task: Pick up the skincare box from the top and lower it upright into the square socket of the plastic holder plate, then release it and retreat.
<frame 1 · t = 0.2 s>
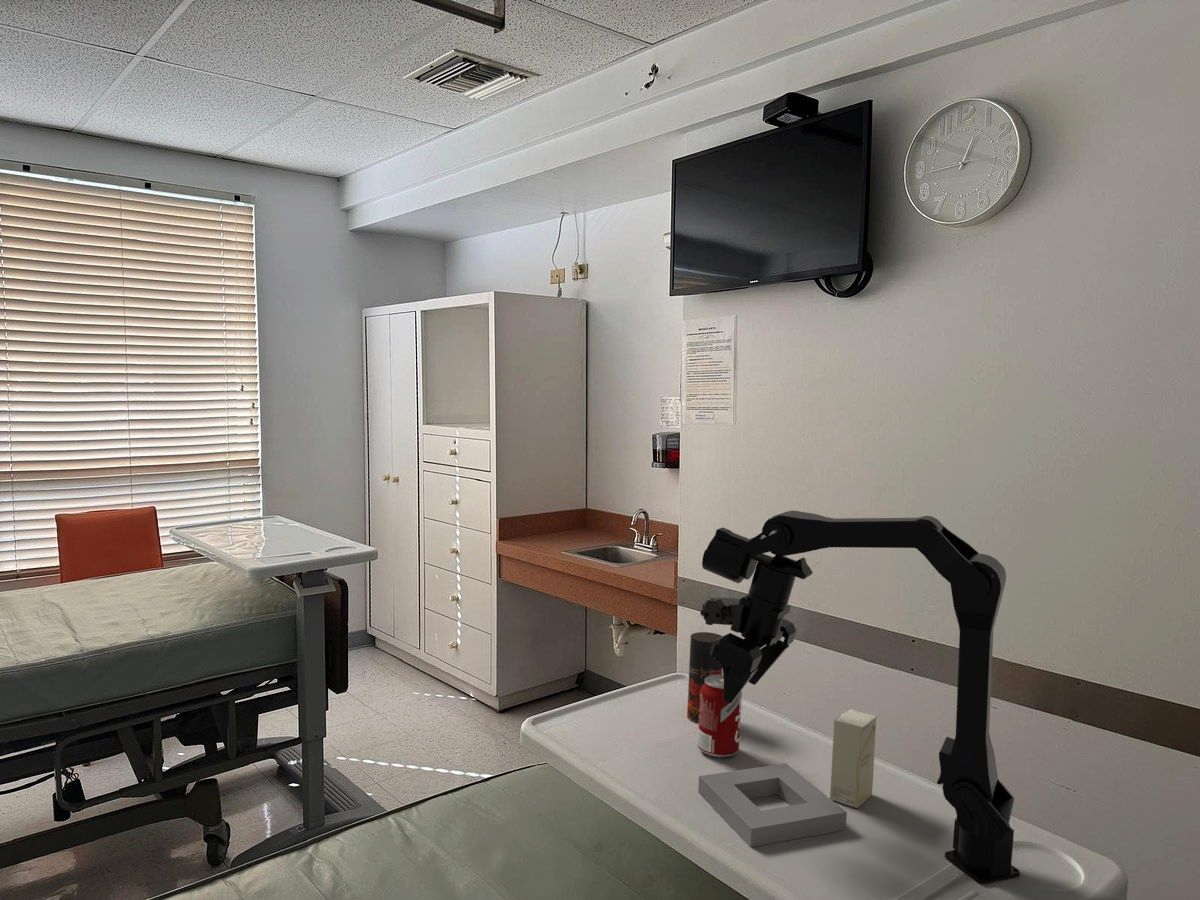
hand: (740, 692, 121), 15 cm above the table, tool pointing down, fingers open, 9 cm apart
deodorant: (703, 718, 149), on the table
skincare box: (850, 798, 122), on the table
soda can: (717, 752, 136), on the table
socket holder: (769, 810, 117), on the table
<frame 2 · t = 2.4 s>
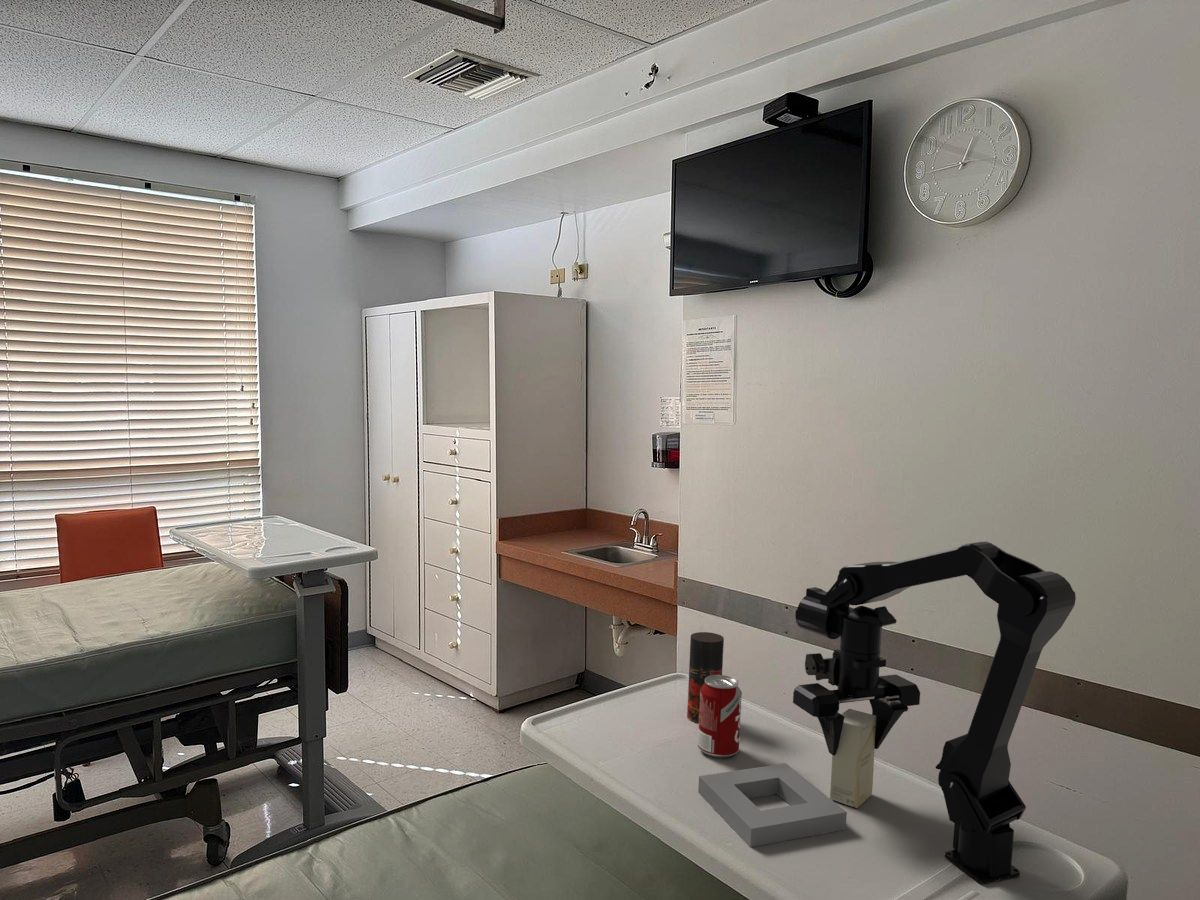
hand: (853, 751, 121), 7 cm above the table, tool pointing down, fingers closed on skincare box, 7 cm apart
skincare box: (850, 797, 122), on the table, touching gripper
everything else where it was.
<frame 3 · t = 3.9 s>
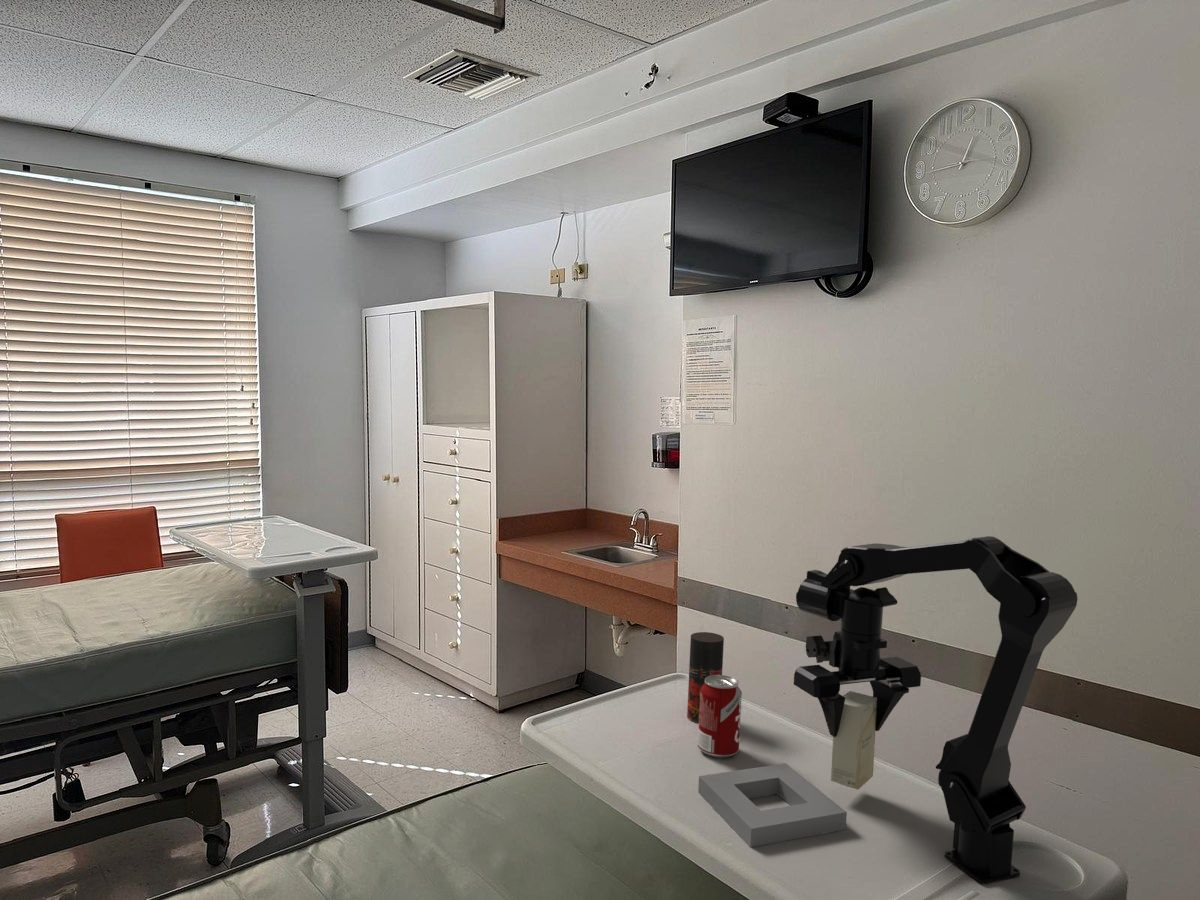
hand: (854, 732, 121), 10 cm above the table, tool pointing down, fingers closed on skincare box, 7 cm apart
skincare box: (851, 780, 122), point 3 cm above the table, touching gripper
everything else where it was.
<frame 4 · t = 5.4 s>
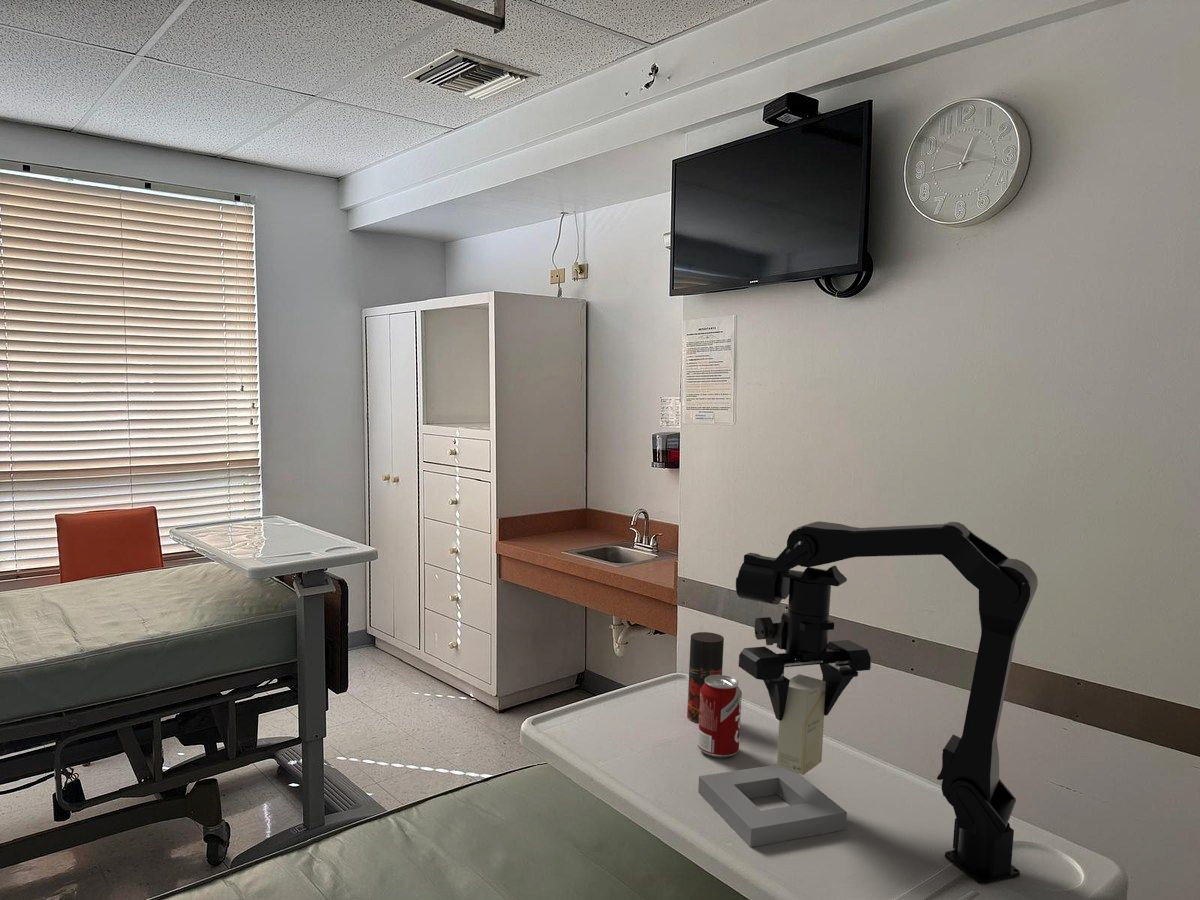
hand: (801, 717, 118), 13 cm above the table, tool pointing down, fingers closed on skincare box, 7 cm apart
skincare box: (798, 765, 119), point 6 cm above the table, touching gripper
everything else where it was.
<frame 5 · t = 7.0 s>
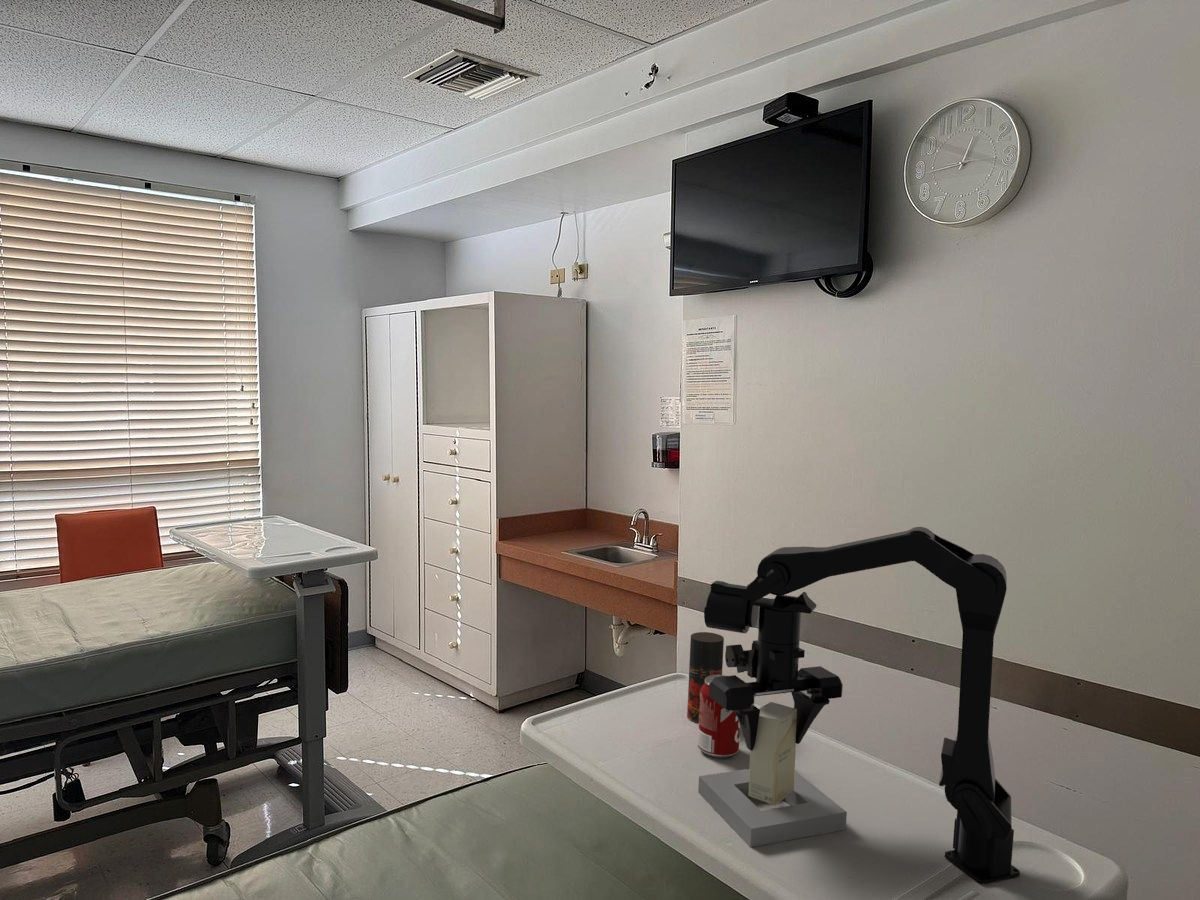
hand: (773, 746, 116), 10 cm above the table, tool pointing down, fingers closed on skincare box, 7 cm apart
skincare box: (770, 794, 117), point 2 cm above the table, touching gripper
everything else where it was.
when the fingers open (8 cm above the table, at t = 8.3 s): skincare box stays where it is, resting in socket holder.
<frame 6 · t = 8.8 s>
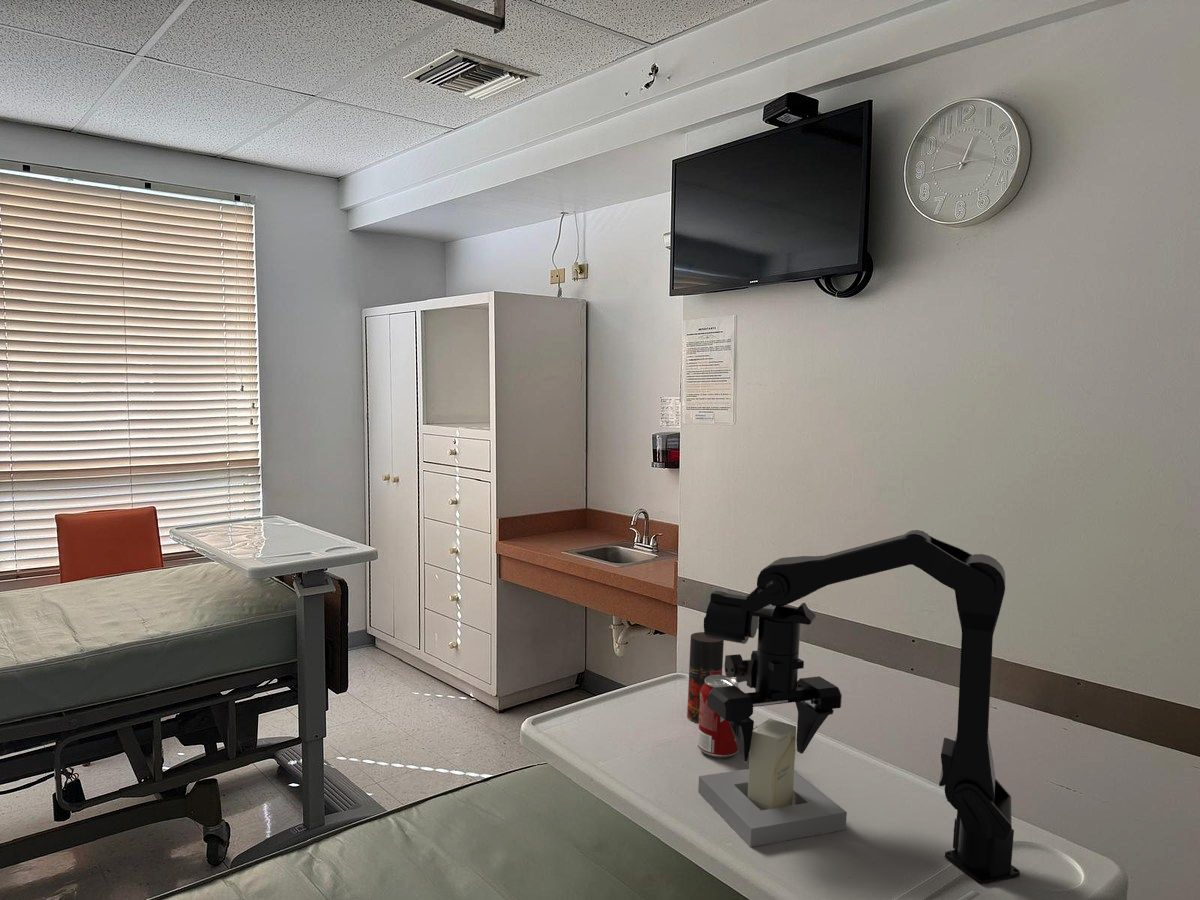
hand: (772, 756, 117), 8 cm above the table, tool pointing down, fingers open, 9 cm apart
skincare box: (769, 811, 117), resting in socket holder
everything else where it was.
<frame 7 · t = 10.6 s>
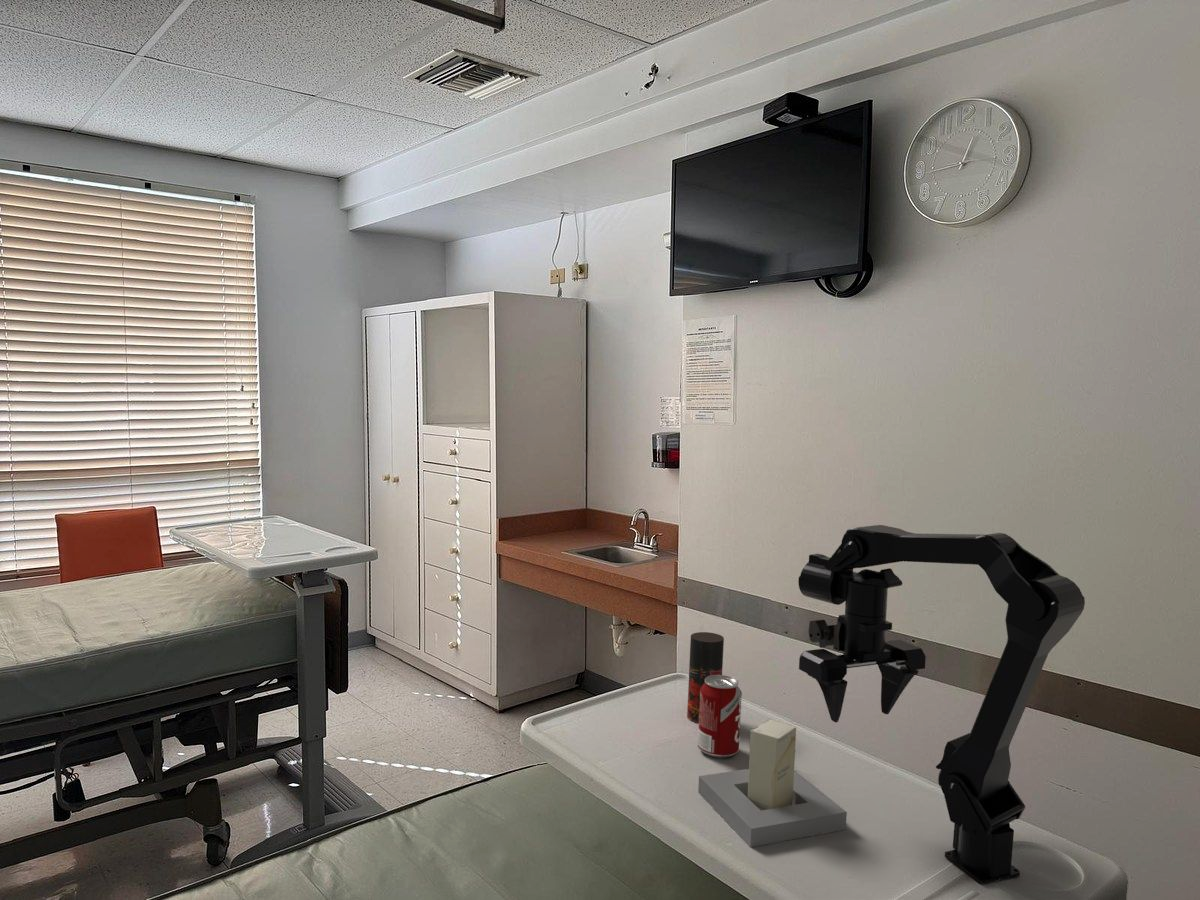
hand: (860, 717, 120), 13 cm above the table, tool pointing down, fingers open, 9 cm apart
nothing on the table moved.
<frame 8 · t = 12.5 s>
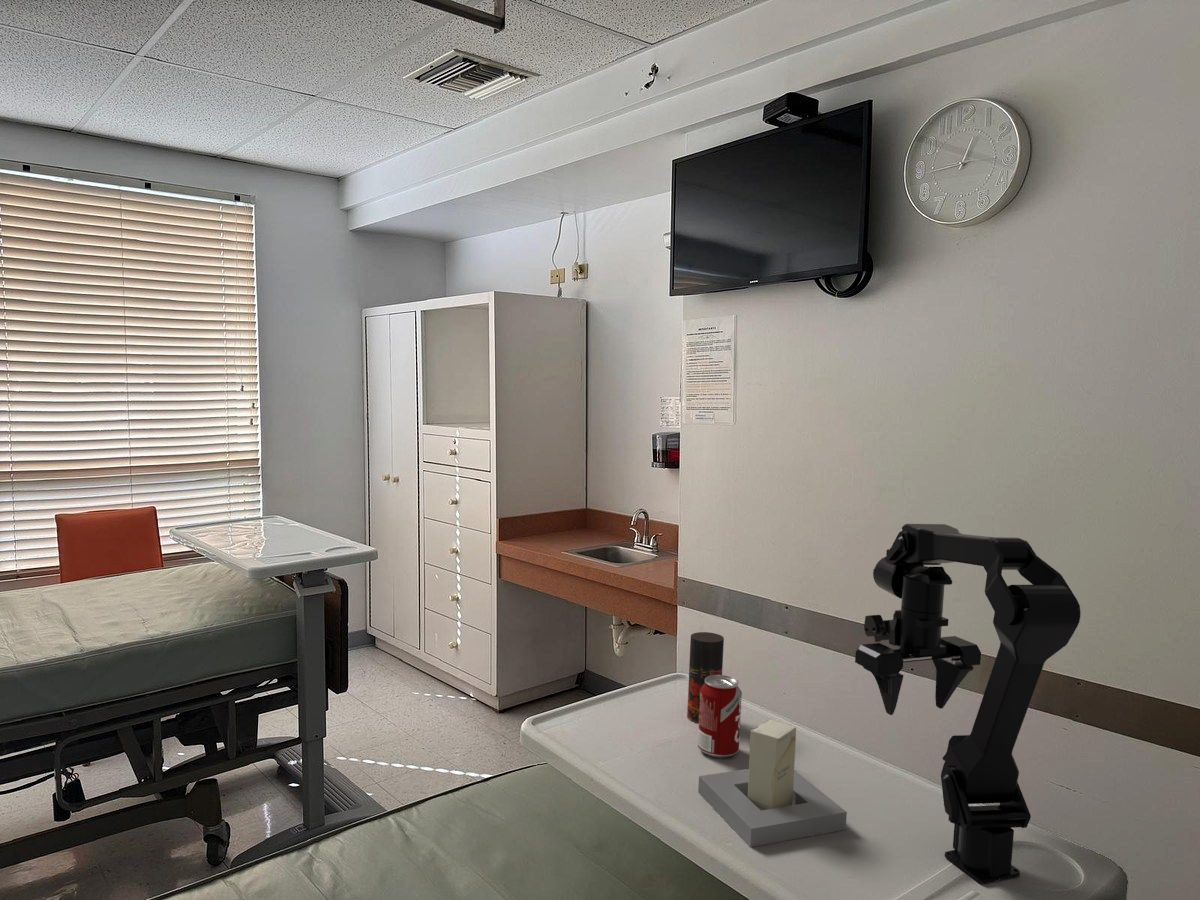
hand: (914, 710, 122), 13 cm above the table, tool pointing down, fingers open, 9 cm apart
nothing on the table moved.
at the end: skincare box 0.0 cm off-centre on the socket holder, point 0.0 cm above the socket holder's base; skincare box tilted 0°; the gripper is holding nothing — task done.
